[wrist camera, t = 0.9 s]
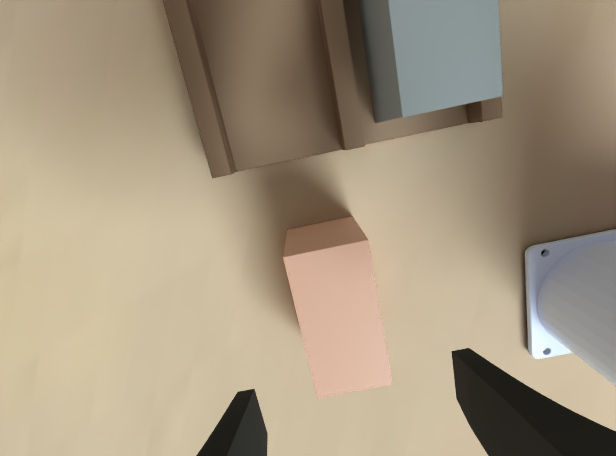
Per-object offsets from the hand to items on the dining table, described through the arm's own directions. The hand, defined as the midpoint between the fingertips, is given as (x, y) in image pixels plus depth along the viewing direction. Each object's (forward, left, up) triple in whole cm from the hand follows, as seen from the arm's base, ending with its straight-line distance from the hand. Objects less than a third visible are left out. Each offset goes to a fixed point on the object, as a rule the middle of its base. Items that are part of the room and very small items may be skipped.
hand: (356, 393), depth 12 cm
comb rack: (-2, -13, -9) cm, 16 cm away
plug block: (0, 0, -10) cm, 10 cm away
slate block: (-6, -13, -9) cm, 17 cm away
